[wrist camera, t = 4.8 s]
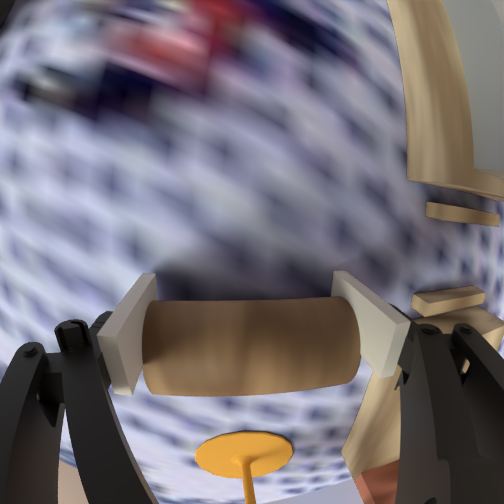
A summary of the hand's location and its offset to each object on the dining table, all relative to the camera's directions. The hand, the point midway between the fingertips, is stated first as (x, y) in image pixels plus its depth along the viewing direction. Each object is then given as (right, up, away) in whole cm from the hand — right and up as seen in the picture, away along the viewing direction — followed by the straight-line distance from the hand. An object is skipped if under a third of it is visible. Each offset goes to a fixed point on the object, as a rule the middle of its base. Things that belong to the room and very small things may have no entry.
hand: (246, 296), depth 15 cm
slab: (+17, +14, -7) cm, 23 cm away
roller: (0, 0, 0) cm, 1 cm away
